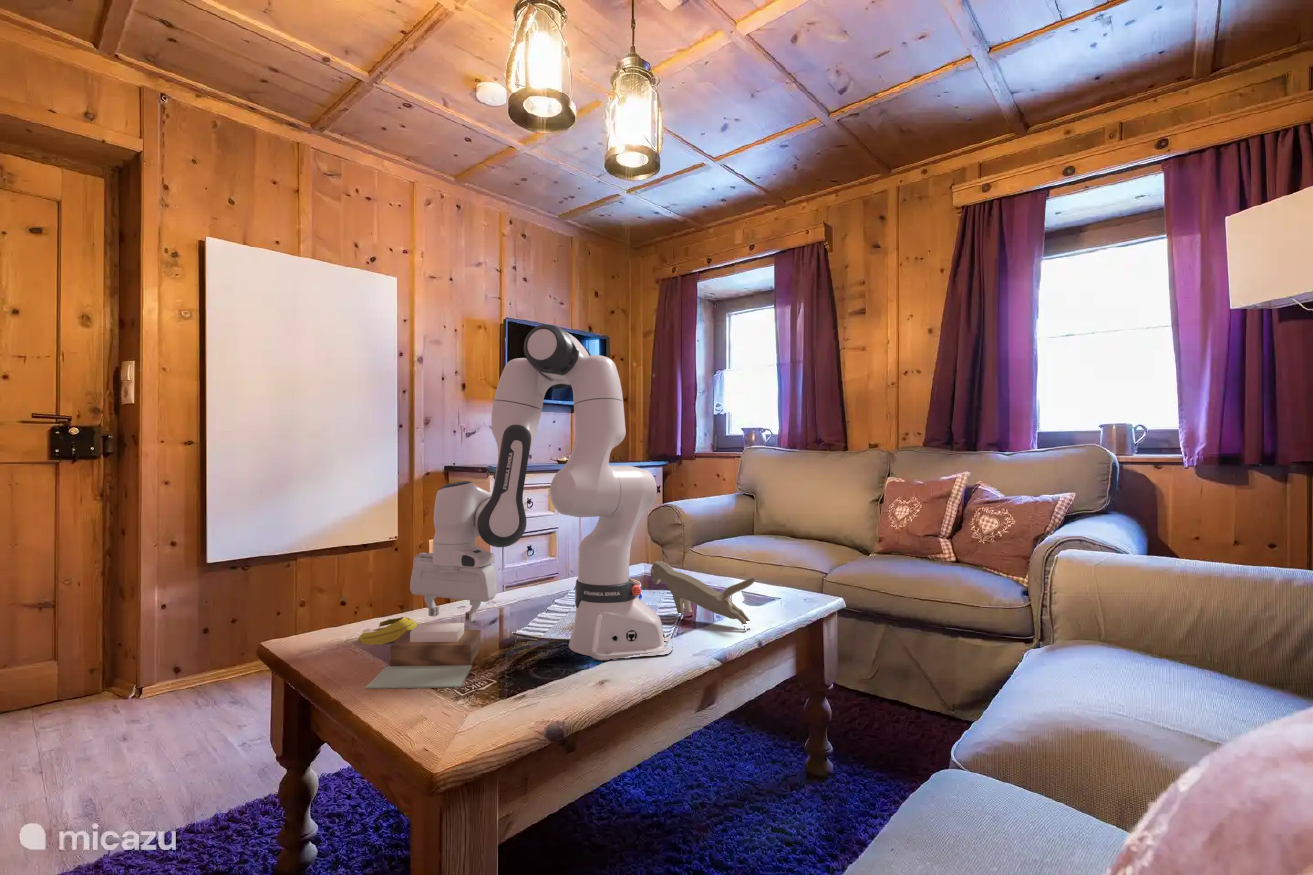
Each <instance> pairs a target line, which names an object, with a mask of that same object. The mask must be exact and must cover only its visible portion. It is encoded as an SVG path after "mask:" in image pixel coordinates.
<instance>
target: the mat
mask: <svg viewBox="0 0 1313 875" xmlns="http://www.w3.org/2000/svg"><path fill="white" fill-rule="evenodd" d="M471 669H473V665H472V664H471V665H451V666H390V665H388V666H385V667H384V668H383V669H382V670H381V671H380V672H379V673H378V674H377V675H376V676H375V677H374V678H373V679H372V680H371V681H370V682H369V683H368V684H367V685H366V686H365V689H367V690H371V689H372V690H374V689H380V690H381V689H425V688H426V689H427V688H429V689H430V688H431V689H433V688H438V689H439V688H441V689H442V688H461V687H462V686H463V683H464V682H465V680H466V678H467V677H468V675H469V673H470V672H471Z"/></svg>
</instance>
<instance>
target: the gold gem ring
mask: <svg viewBox="0 0 1313 875" xmlns="http://www.w3.org/2000/svg"><path fill="white" fill-rule="evenodd" d="M418 624H419V623H418V622H416V621H414V619H412V618H409V617H404V616H401V617H396V618H388V619H386V620H383V621H380V622H379V624H378V625H379V626H378V628H377V630H375V631H369V632H363V633H361V634H360V635H359V637H358V642H359V641H360V642H359V643H360V644H364V645H385V644H389V643H392V642H393V643H394V642H395V641H396V640H397V639H398V638H399V637H400V636H401V635H402V634H404V633H405V632H406V631H407V630H413V629H414V628H415V627H416V626H417V625H418ZM384 626H385V627H384ZM382 627H383V628H382ZM380 628H381V629H380Z"/></svg>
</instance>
